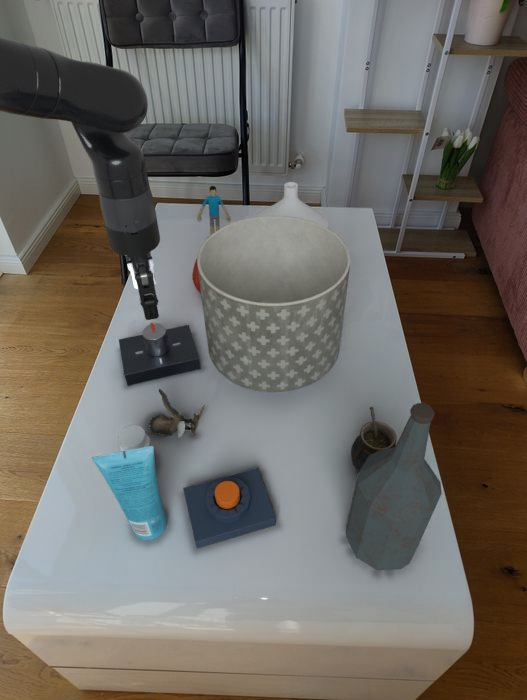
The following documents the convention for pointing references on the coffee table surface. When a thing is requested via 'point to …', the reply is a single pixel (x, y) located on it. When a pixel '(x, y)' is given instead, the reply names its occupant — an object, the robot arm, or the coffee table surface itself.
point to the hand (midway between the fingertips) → (148, 302)
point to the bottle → (394, 498)
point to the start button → (227, 494)
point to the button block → (233, 522)
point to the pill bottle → (133, 438)
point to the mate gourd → (372, 441)
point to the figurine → (213, 209)
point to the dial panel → (159, 357)
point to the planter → (273, 301)
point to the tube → (135, 489)
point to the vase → (294, 207)
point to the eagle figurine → (173, 420)
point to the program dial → (155, 339)
